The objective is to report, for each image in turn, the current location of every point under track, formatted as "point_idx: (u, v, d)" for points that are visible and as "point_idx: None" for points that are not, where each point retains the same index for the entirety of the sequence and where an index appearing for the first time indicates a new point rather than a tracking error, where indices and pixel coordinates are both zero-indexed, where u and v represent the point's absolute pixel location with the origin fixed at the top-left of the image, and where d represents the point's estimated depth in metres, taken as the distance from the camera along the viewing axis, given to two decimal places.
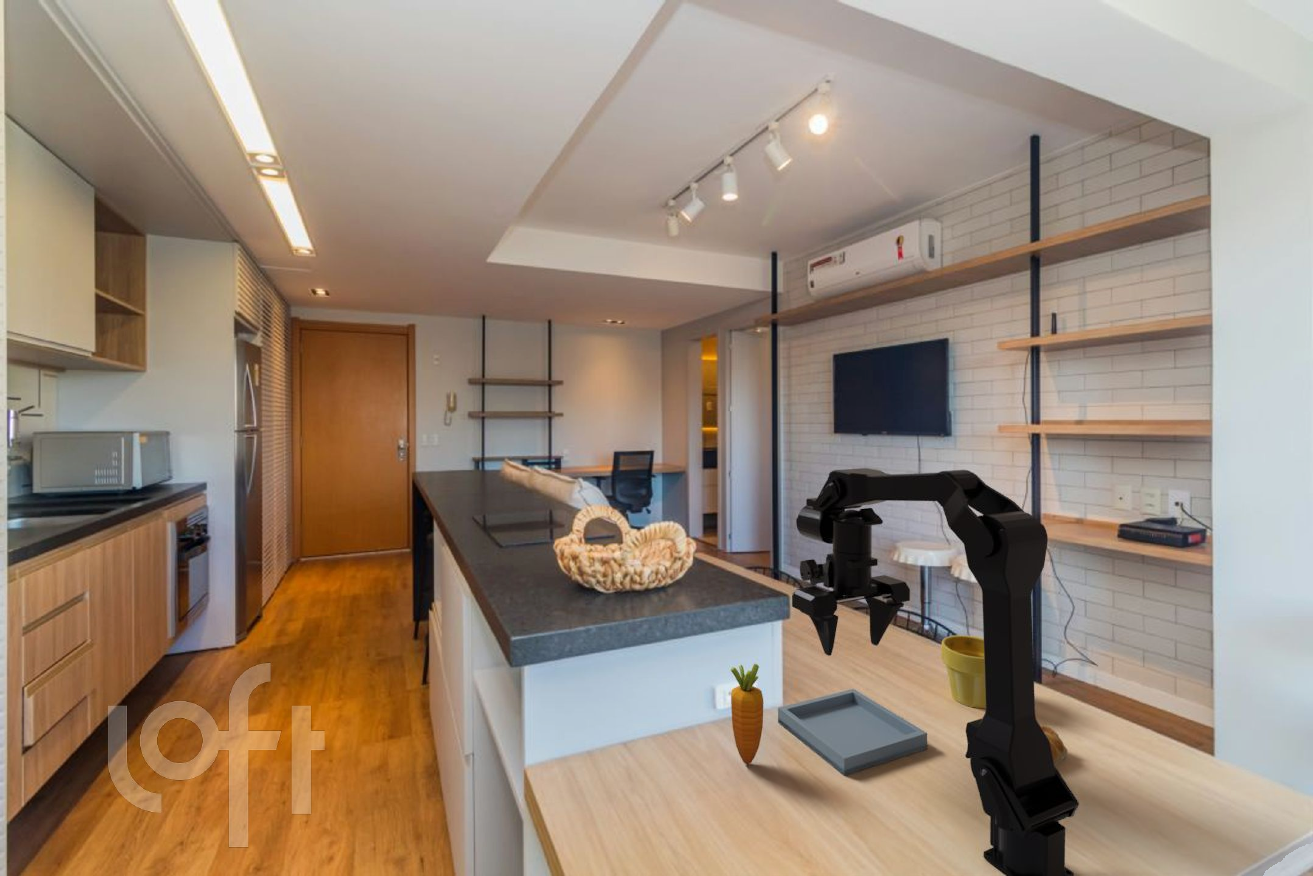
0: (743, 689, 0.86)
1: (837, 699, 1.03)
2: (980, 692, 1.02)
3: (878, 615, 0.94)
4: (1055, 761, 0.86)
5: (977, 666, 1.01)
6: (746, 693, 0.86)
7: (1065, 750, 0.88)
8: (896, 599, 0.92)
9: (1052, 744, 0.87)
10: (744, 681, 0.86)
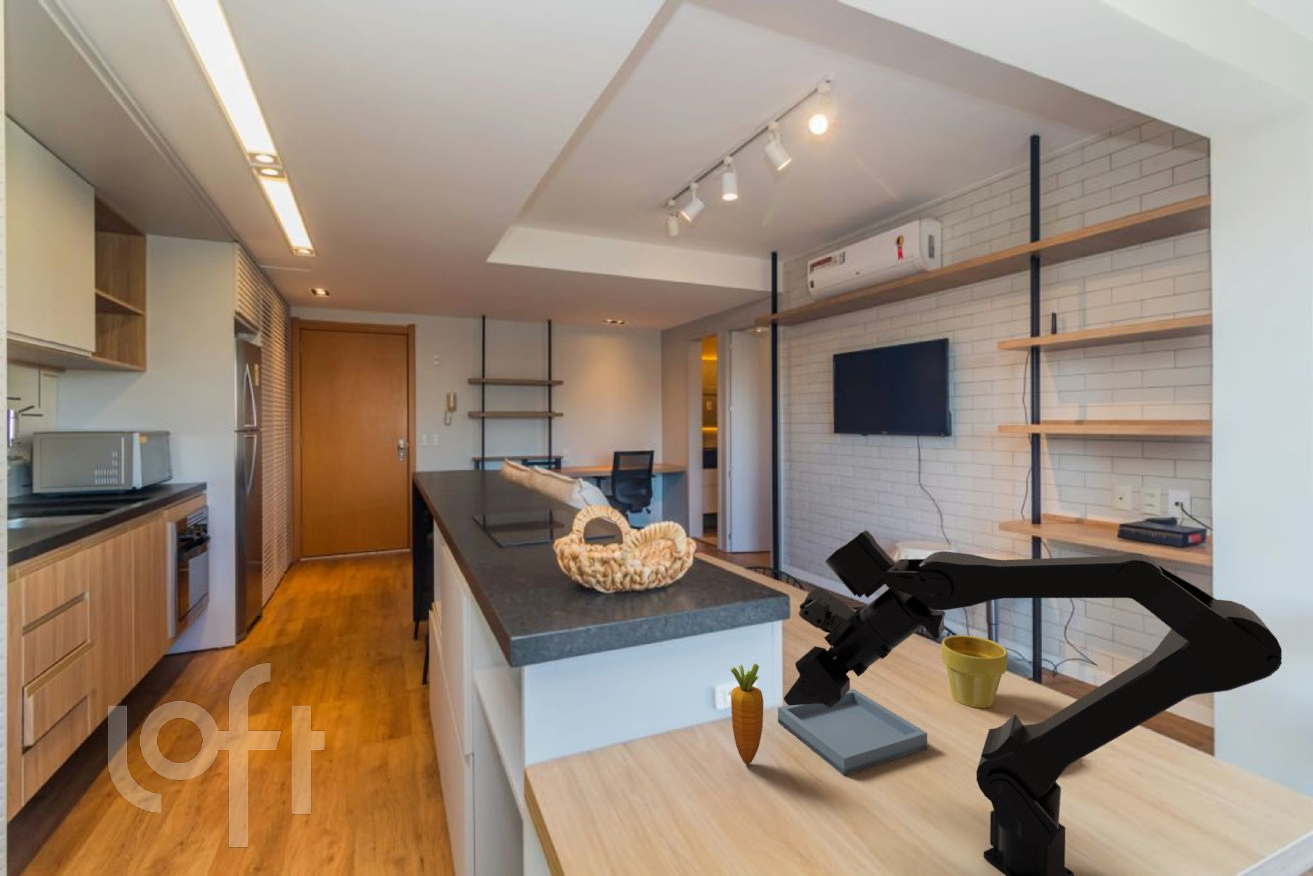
0: (743, 689, 0.86)
1: None
2: (980, 692, 1.02)
3: None
4: None
5: (977, 666, 1.01)
6: (746, 693, 0.86)
7: None
8: None
9: None
10: (744, 681, 0.86)
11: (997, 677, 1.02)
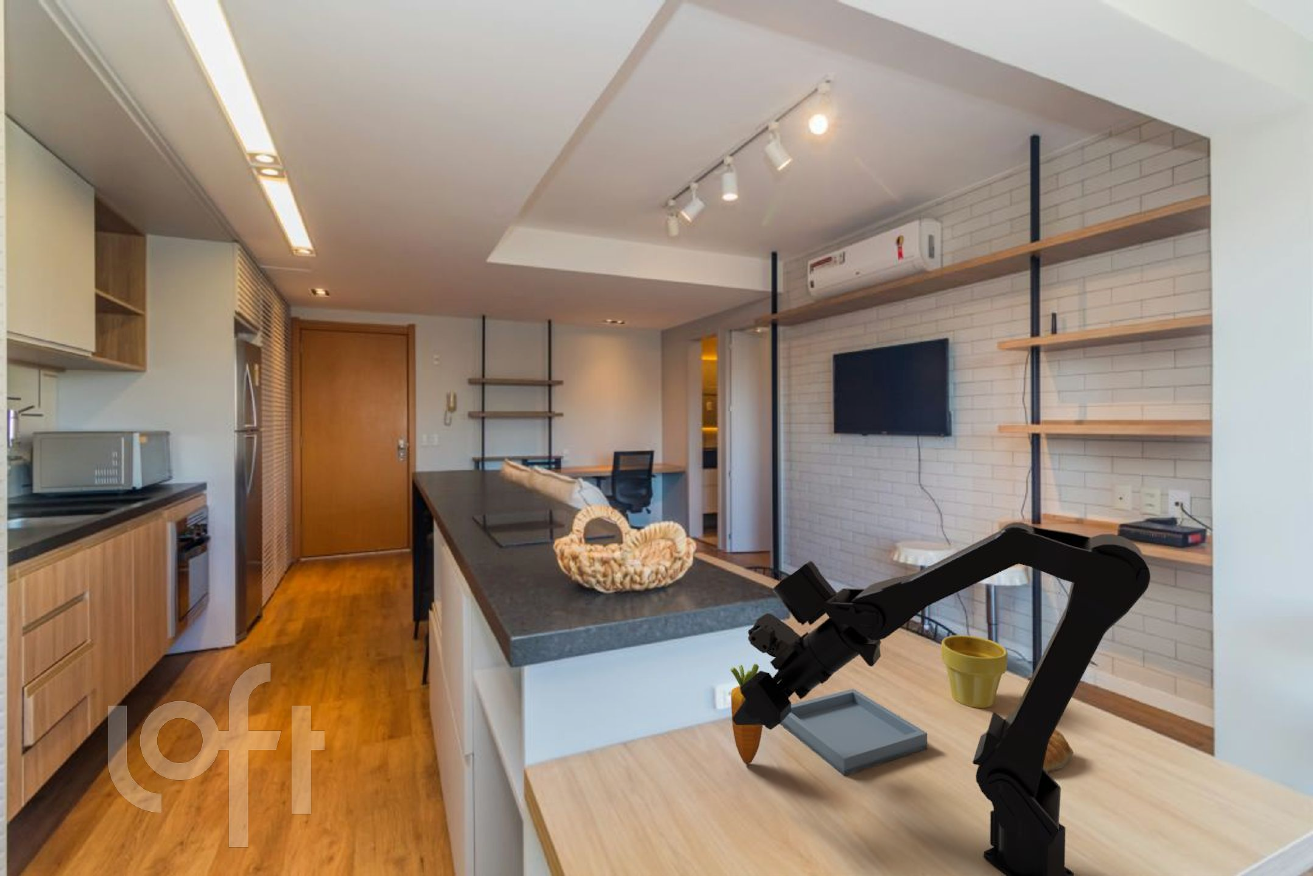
0: None
1: (837, 699, 1.03)
2: (980, 692, 1.02)
3: None
4: (1062, 763, 0.85)
5: (977, 666, 1.01)
6: None
7: (1071, 751, 0.88)
8: None
9: (1059, 746, 0.86)
10: (744, 681, 0.86)
11: (997, 677, 1.02)
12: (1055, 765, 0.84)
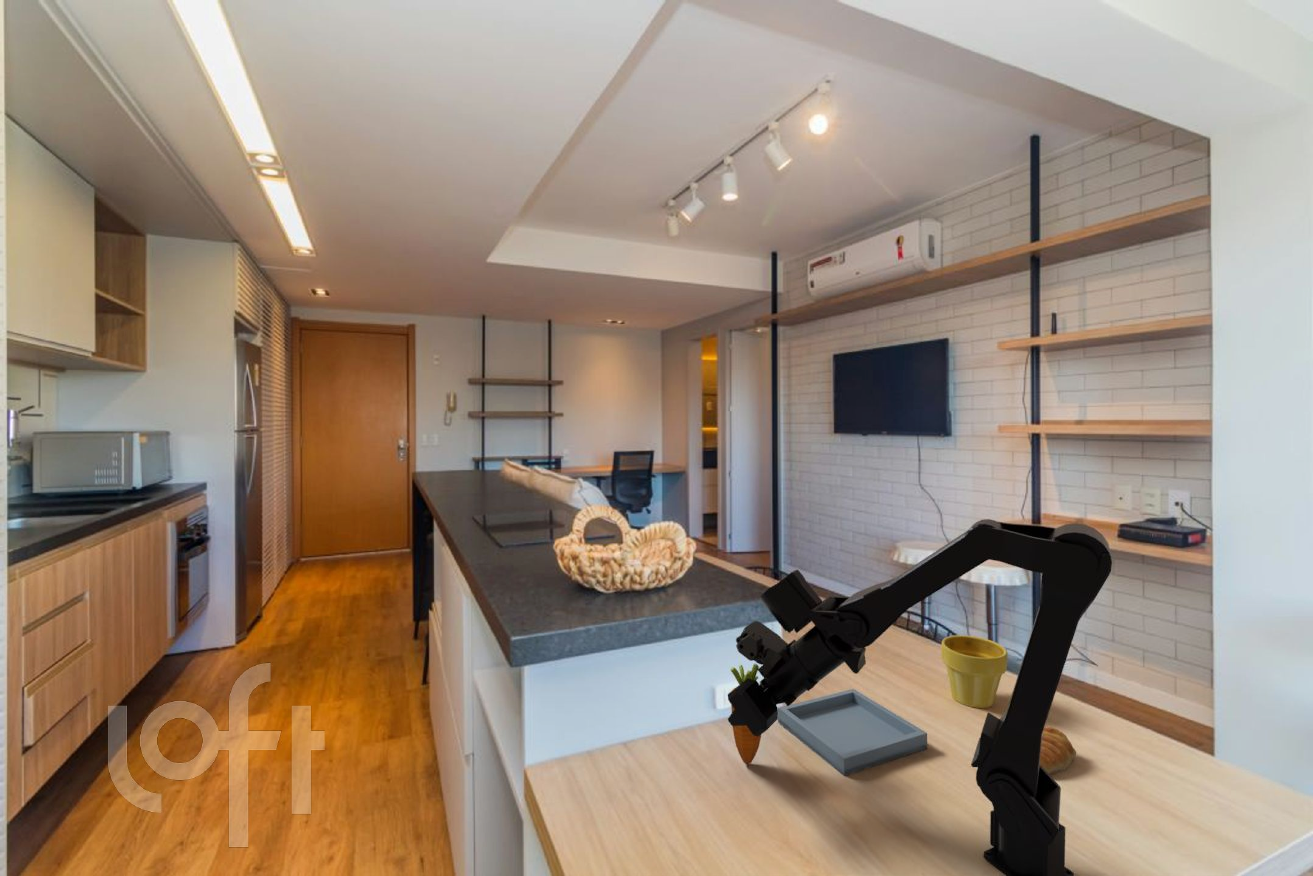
0: None
1: (837, 699, 1.03)
2: (980, 692, 1.02)
3: None
4: (1066, 764, 0.85)
5: (977, 666, 1.01)
6: None
7: (1074, 752, 0.87)
8: None
9: (1063, 746, 0.86)
10: None
11: (997, 677, 1.02)
12: (1059, 766, 0.84)
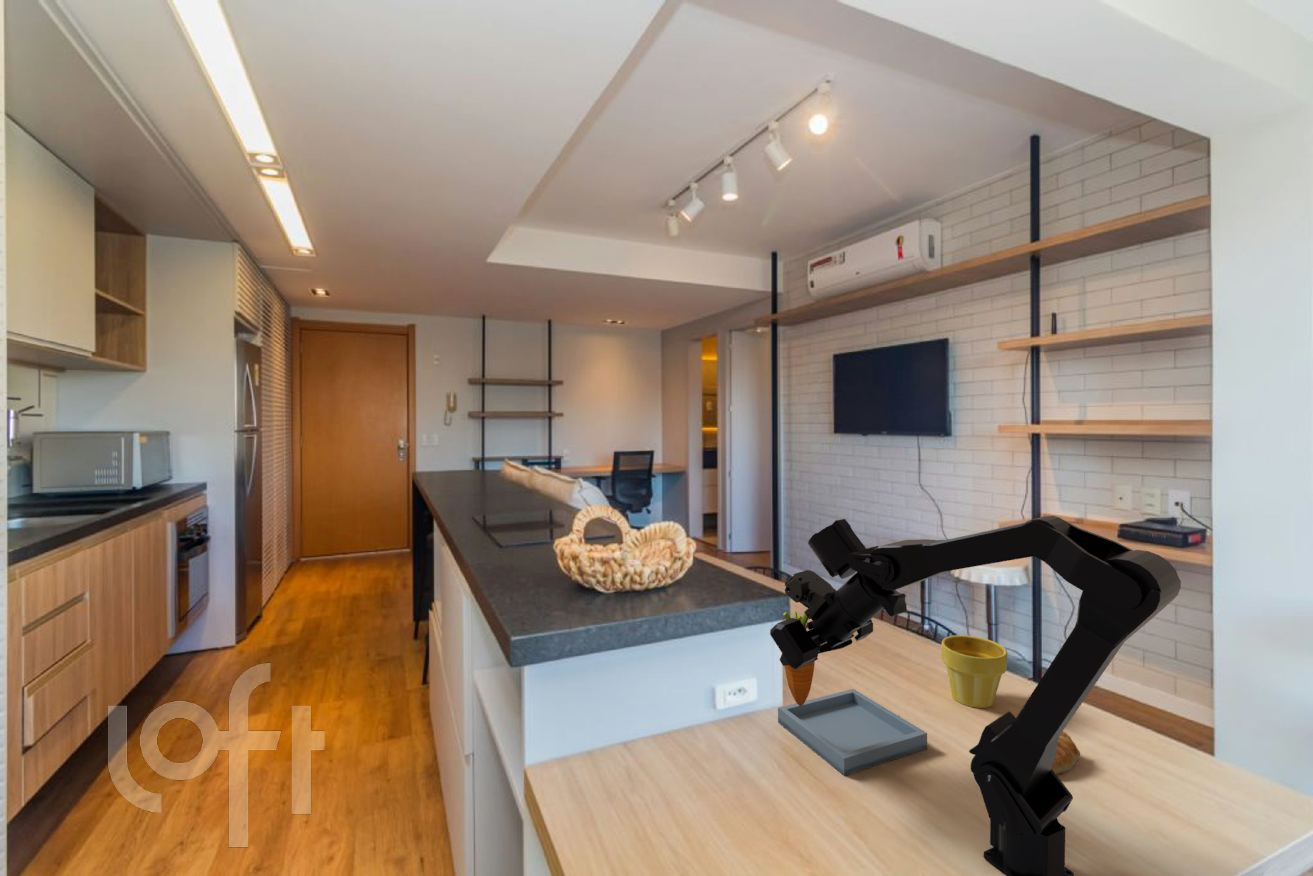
0: None
1: (837, 699, 1.03)
2: (980, 692, 1.02)
3: None
4: (1071, 765, 0.85)
5: (976, 666, 1.01)
6: None
7: (1078, 753, 0.87)
8: (858, 639, 0.91)
9: (1067, 747, 0.86)
10: None
11: (997, 677, 1.02)
12: (1064, 767, 0.84)
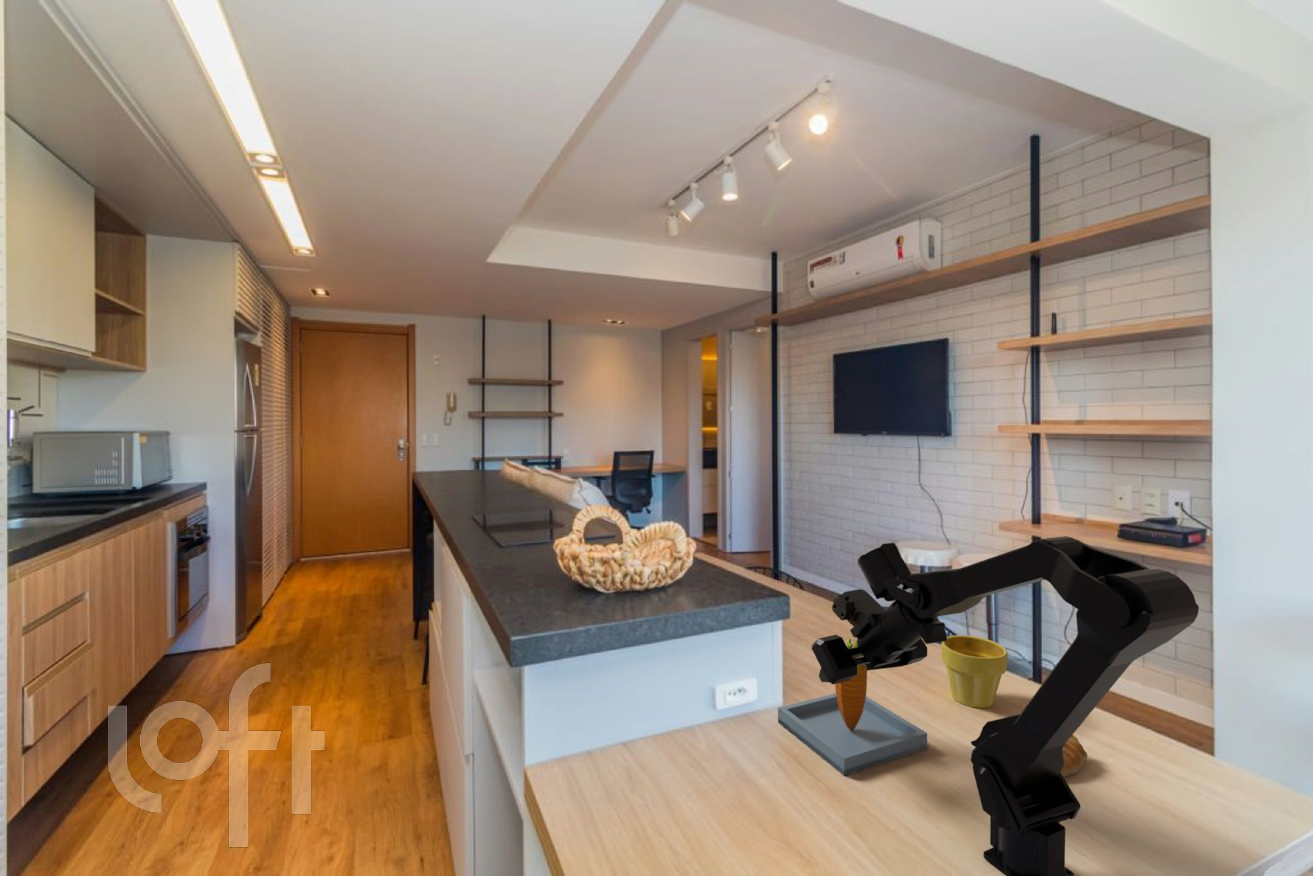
0: None
1: None
2: (980, 692, 1.02)
3: None
4: (1080, 766, 0.84)
5: (977, 666, 1.01)
6: None
7: (1085, 754, 0.87)
8: (909, 662, 0.91)
9: (1075, 749, 0.85)
10: None
11: (997, 677, 1.02)
12: (1073, 769, 0.83)
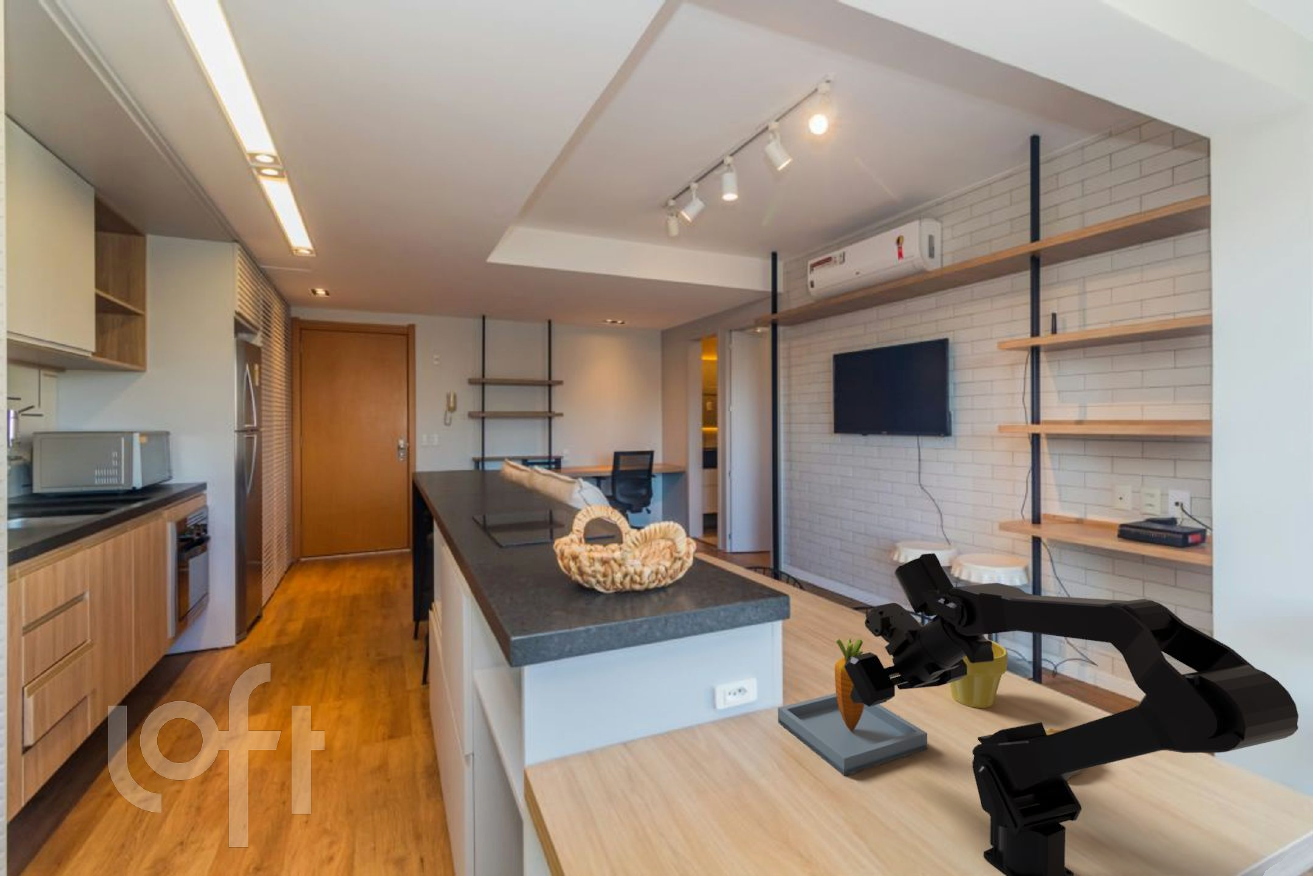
0: (846, 660, 0.94)
1: None
2: (980, 692, 1.02)
3: None
4: None
5: (977, 666, 1.01)
6: None
7: None
8: (948, 681, 0.85)
9: None
10: (846, 652, 0.94)
11: (997, 677, 1.02)
12: None
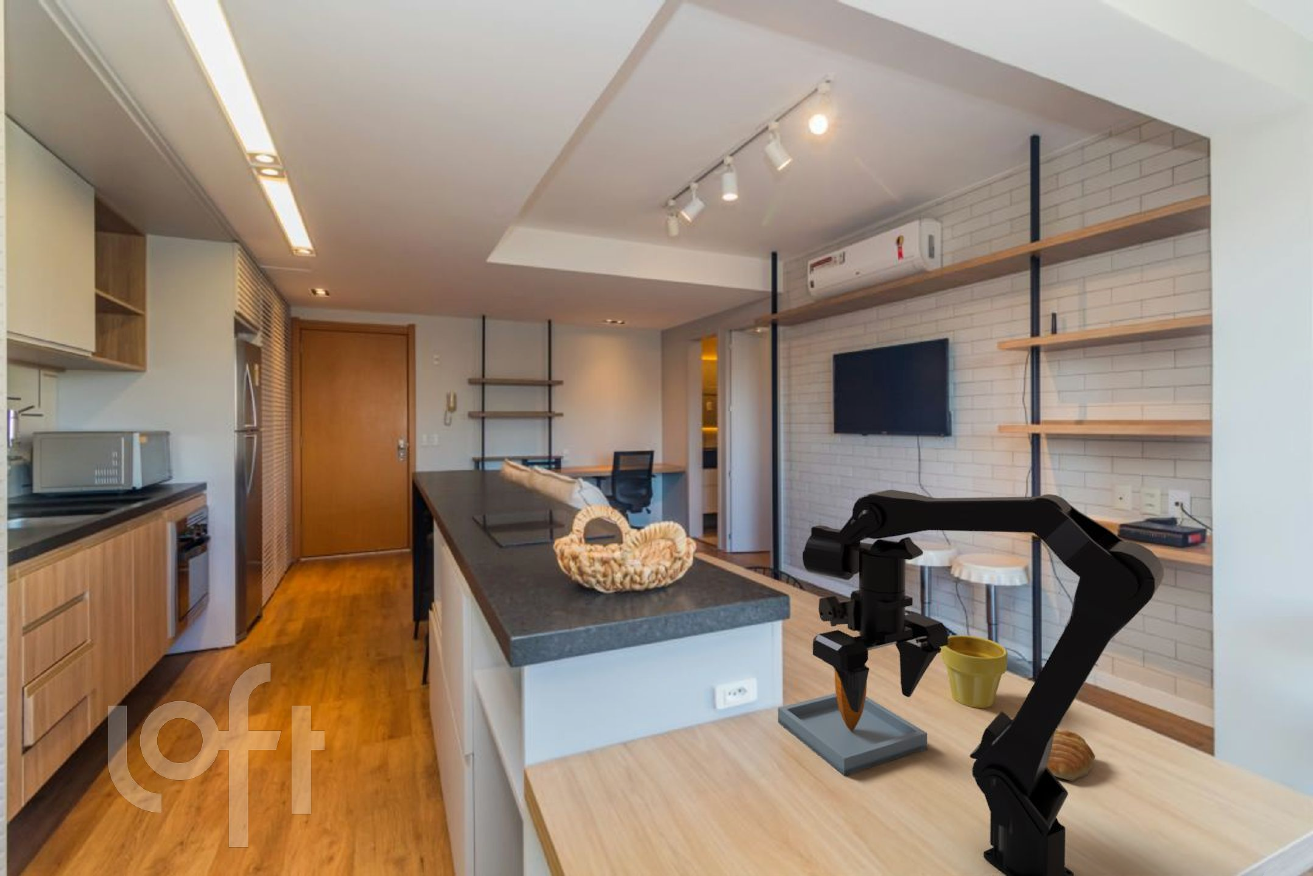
0: None
1: None
2: (980, 692, 1.02)
3: (911, 662, 0.80)
4: (1089, 768, 0.84)
5: (977, 666, 1.01)
6: None
7: (1093, 755, 0.87)
8: (933, 643, 0.78)
9: (1084, 751, 0.85)
10: None
11: (997, 677, 1.02)
12: (1084, 771, 0.83)
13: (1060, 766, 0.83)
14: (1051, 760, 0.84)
